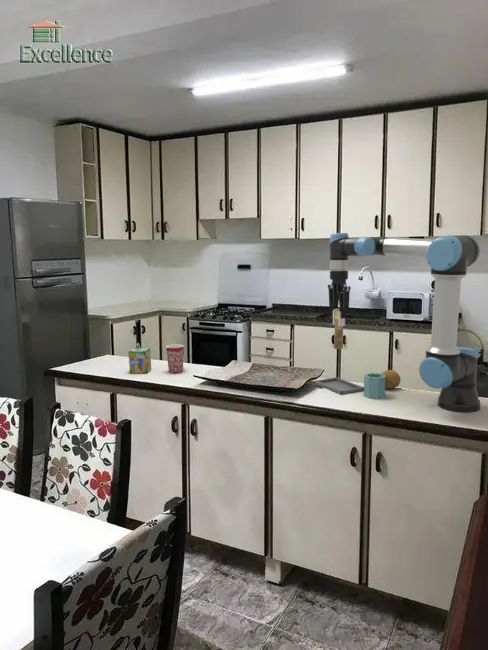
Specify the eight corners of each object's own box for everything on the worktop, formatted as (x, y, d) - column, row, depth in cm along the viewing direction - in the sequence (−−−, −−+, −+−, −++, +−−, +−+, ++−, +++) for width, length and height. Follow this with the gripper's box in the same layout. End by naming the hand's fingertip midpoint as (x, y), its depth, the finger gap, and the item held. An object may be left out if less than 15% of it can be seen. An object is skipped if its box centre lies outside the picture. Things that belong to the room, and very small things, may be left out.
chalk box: (146, 373, 266) (145, 345, 263) (129, 373, 267) (127, 345, 264) (152, 369, 275) (150, 341, 272) (135, 369, 276) (133, 341, 274)
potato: (402, 385, 232) (402, 368, 231) (398, 394, 219) (398, 375, 218) (379, 383, 236) (380, 366, 235) (374, 392, 223) (374, 373, 222)
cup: (389, 399, 213) (389, 376, 211) (372, 402, 209) (373, 379, 208) (376, 394, 220) (376, 372, 218) (360, 397, 217) (360, 374, 215)
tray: (364, 393, 222) (364, 387, 222) (340, 397, 217) (340, 391, 217) (336, 382, 240) (336, 377, 240) (314, 385, 235) (314, 380, 235)
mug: (179, 374, 262) (177, 348, 260) (163, 373, 266) (162, 347, 264) (191, 368, 273) (190, 343, 271) (176, 367, 277) (175, 342, 275)
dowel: (344, 348, 225) (344, 309, 222) (337, 349, 224) (337, 309, 221) (339, 347, 228) (339, 308, 226) (332, 347, 227) (332, 308, 224)
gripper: (358, 270, 215) (357, 327, 218) (335, 269, 230) (334, 322, 233) (343, 271, 212) (342, 328, 215) (320, 269, 227) (320, 323, 230)
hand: (338, 325), depth 224 cm, fingers closed on dowel, 3 cm apart
